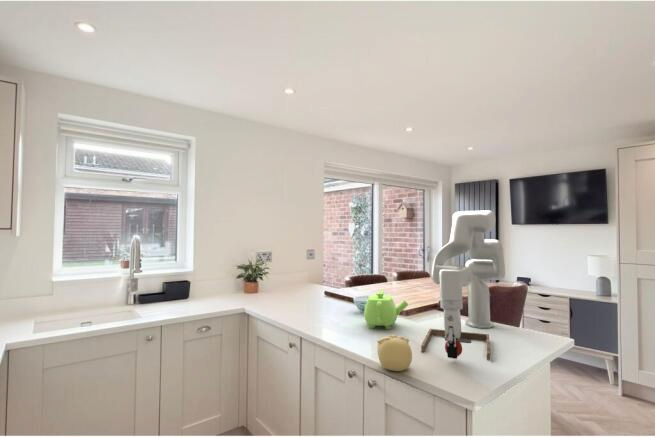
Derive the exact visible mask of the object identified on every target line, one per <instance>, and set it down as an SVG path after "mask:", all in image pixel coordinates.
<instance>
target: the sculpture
mask: <svg viewBox="0 0 655 437" xmlns="http://www.w3.org/2000/svg"><path fill="white" fill-rule="evenodd" d="M409 342H410V339H409V338H407V337H404V336H399V335H396V334H389V335H388V336H386V337H382V338H380V339H379V338H378V340H377V357H378V361H379V363H380V365H381V367H382V368H384V369H386V370H388V371H392V372H402V371H405V370H407V369H409V367H411V364H412V360H413V353H412V349H411V346H410V344H409Z"/></svg>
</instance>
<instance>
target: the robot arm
mask: <svg viewBox="0 0 655 437" xmlns="http://www.w3.org/2000/svg"><path fill="white" fill-rule="evenodd" d="M451 224H452V225H451V230H450V236H449V241H448V243H446V244H445V245H443V247H442V248H440V249H439V250H438V251H437V253H436V255H435V256H434V259H433V263H432V269H431V279H432V281H433V283H435V284H436V285H439V304H440V305H439V306H440V309H442V310H443V324H444V327H443V328H444V330H445V338H447V340H446V342H447V352H446V355H447V358H449V359H453V358H455V359H456V360H457V359H458V357H457V347H456V339H457V340H458V339H460V337H461V332H462V321H461V320H462V319H461V310H462V309H463V306H464V305H463V287H467V304H468V305H467V307H468V319H466V320H465V321H464V322H465V325H466V326H469V327H471V328H478V329H491V328H493V327H494V326H495V325H494V322H492V321H491V309H490V308H491V307H490V302H491V301H490V288H489V286H488V284H487V283H486V282H485V280H490V281H491V280H492V281H500V280H501V281H502V280H503V279H504V278H505V275H506V266H505V265H506V264H505V257H504V256H505V255H504V248H503V244H502V242H501V241H500V240H498V239H494V238H493V239H492V238H488V239H487V238H484V234H487V233H490V232H491V231H492V230H493V229H494V228H495V225H496V215H495V213H494V212H493V211H492V210H488V209H487V210H461V211H456V212H454V213H453V214H452V223H451ZM463 254H466V257H468V258H469V259H468V260H467V261H466V262H465V263H464V265H454V264H453V265H452V264H445V263H446V262H447V261H448V260H450V259H452V258H454V257H457V256H460V255H463ZM453 336H455V338H454V337H453ZM453 339H454V341H453Z"/></svg>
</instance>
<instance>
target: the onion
mask: <svg viewBox="0 0 655 437" xmlns="http://www.w3.org/2000/svg"><path fill="white" fill-rule="evenodd" d="M453 337H454V338H455V336H453ZM453 341H454V339H453ZM456 347H457V358H458V357H459V356H461V354H462V353H463V346H462V342H459V341H458V340H457V339H456ZM444 350H445V353H447V341H446V342H445V344H444ZM452 359H455V358H452Z"/></svg>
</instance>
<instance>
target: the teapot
mask: <svg viewBox="0 0 655 437" xmlns="http://www.w3.org/2000/svg"><path fill="white" fill-rule="evenodd" d="M368 296H369V298H368V300H367V303H366V306H365V311H364V313H363V317H364V320H365V322H366V323H367V325H369V326H368V328H369V329H376V327H377V326H381V327H383V326H384V328H385V329H387V330H390V329H392V328H393V327H392V326H393V325H395V323H396V322H397V318H398V315H399V314H400V313H402V312H403V311H404V310H405V309H406V308H407V307H408V306H409V303H408V302H407V301H406V300H402V302H401V303H400V304H399V305H398V306H396V304H395V302H394V299H393V297H392V296H391V295H389V294H388V295H386V294H384V289H380V290H379V292H376V293H375V294H372V295H368Z"/></svg>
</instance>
